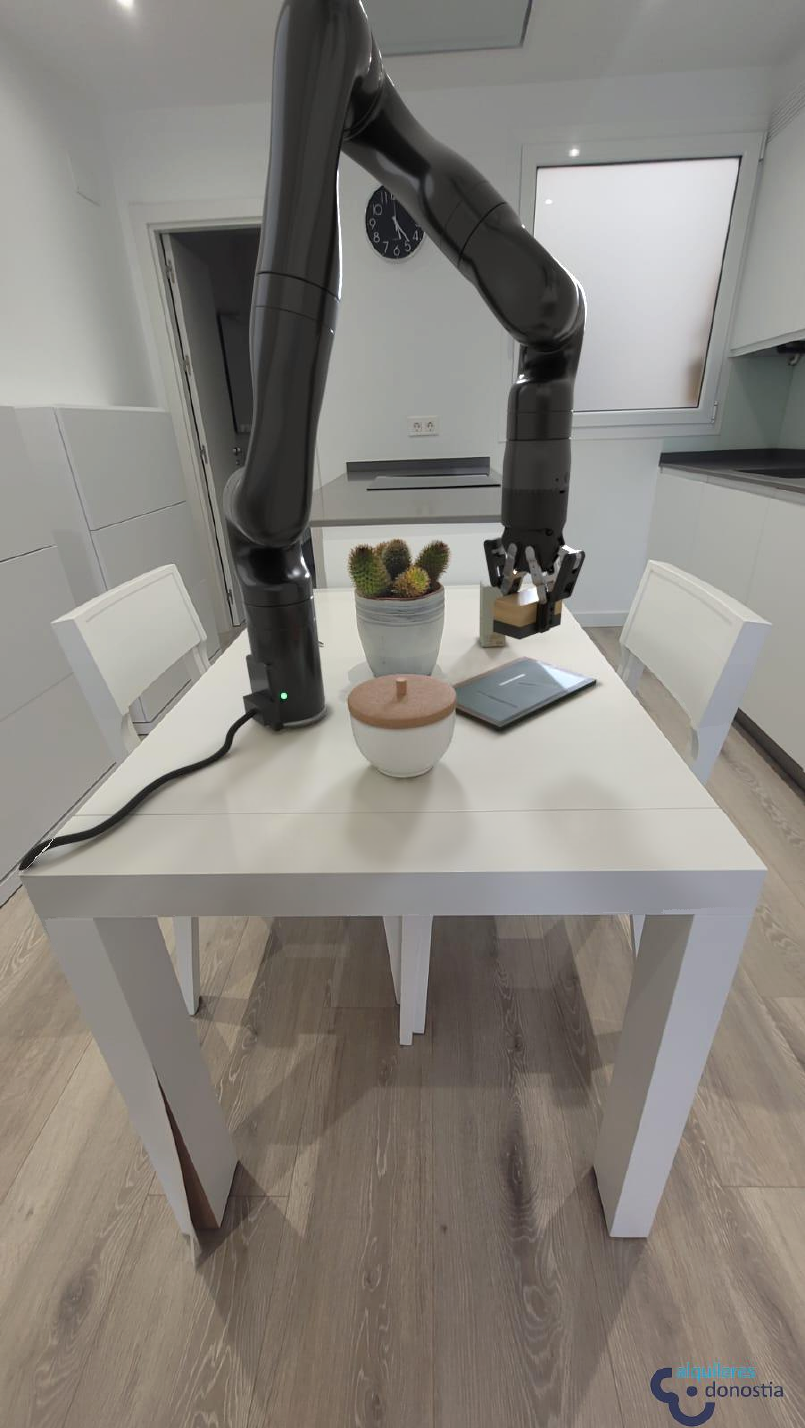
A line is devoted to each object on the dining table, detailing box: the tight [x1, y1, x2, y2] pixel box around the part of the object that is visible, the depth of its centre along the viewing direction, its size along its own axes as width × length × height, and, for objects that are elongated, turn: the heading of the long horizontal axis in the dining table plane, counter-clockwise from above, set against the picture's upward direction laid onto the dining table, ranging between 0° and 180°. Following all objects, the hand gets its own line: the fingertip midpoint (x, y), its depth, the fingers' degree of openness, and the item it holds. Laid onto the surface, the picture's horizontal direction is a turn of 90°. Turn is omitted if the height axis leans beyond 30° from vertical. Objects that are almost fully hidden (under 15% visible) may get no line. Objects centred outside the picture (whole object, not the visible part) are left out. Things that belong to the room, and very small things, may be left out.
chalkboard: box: [451, 655, 598, 733], centre depth 89 cm, size 22×14×1 cm, turn 130°
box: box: [478, 579, 506, 647], centre depth 107 cm, size 5×4×11 cm
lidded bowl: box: [346, 673, 457, 779], centre depth 70 cm, size 13×13×11 cm
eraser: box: [493, 586, 564, 641], centre depth 74 cm, size 8×4×4 cm, turn 130°
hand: (527, 626), depth 75 cm, fingers closed on eraser, 4 cm apart
